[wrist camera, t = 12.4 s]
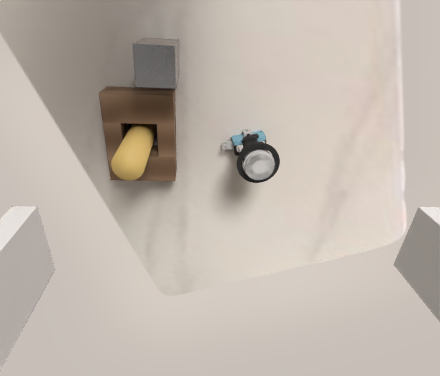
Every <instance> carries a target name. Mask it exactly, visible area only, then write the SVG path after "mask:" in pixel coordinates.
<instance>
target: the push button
mask: <svg viewBox="0 0 440 376" xmlns="http://www.w3.org/2000/svg"><path fill="white" fill-rule="evenodd" d="M243 133H244V134H241V135H235V136H232V140H228V142H223V143H221V144H222V149H223V150H226V149H230V150H231V149H234V153H235V155H239V157H238V160H237V168H238V171H239V174H240V175H241V176H242V177H243V178H244V179H245V180H247V181H249V182H253V183H259V182H264V181H266V180H268V179H270V178H271V177H273V176H274V174H275V173H276V172H277V170H278V168H279V164H280V159H279V155H278V153H277V151H276V150H275V149H274V148H273V147H272V146H270V145H268V144H266V136H265V134H264V133H263V131H258V132H251V130H250V129H247V130H243ZM224 144H225V145H224ZM224 147H227V148H224ZM268 151H270V152H271V153H272V155H271V154H270V153H269V152H268ZM242 161H243V167H242Z"/></svg>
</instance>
